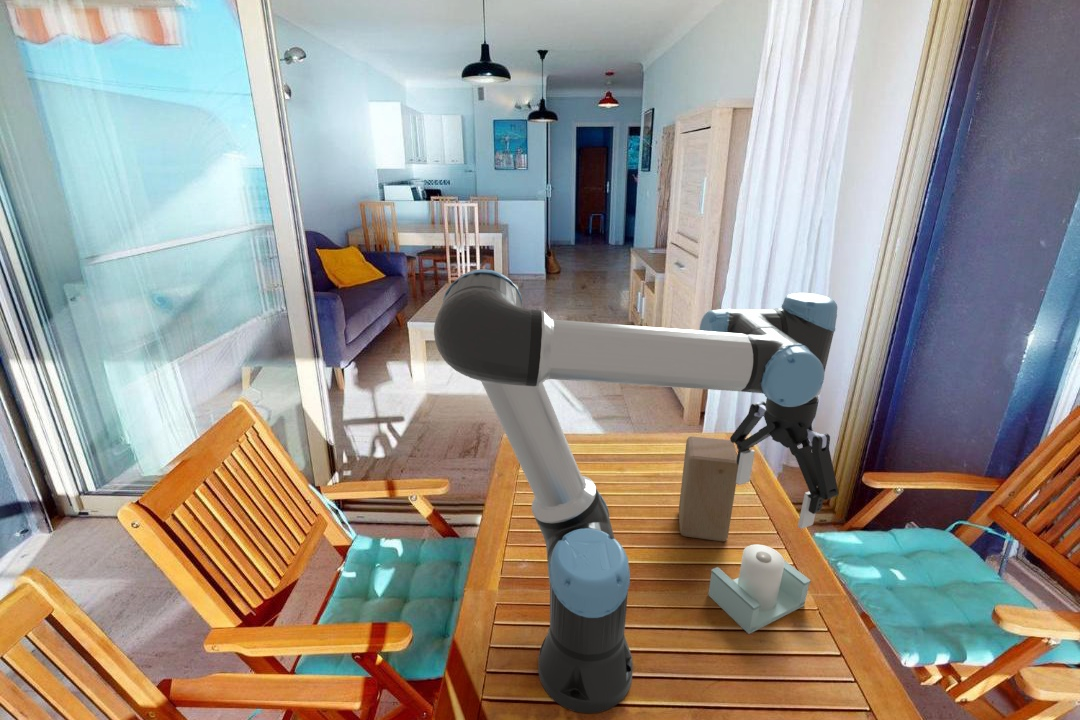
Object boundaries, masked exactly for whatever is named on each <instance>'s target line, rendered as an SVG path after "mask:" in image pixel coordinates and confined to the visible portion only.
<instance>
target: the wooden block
mask: <svg viewBox="0 0 1080 720" xmlns="http://www.w3.org/2000/svg"><path fill="white" fill-rule="evenodd" d="M737 455H738V453H737V450H736V444H735V443H732V442H731V441H730V439H721V438H715V437H714V438H712V437H705V436H702V437H701V436H694V435H692V436H688V437H687V438H686V442H685V451H684V459H683V469H682V478H681V487H680V494H679V495H680V497H679V503H678V518H679V519H678V520H679V521H678V522H679V533H680V535H681V536H683V537H686V538H687V537H688V538H693V539H702V540H709V541H717V542H726V541H727V539H728V538H729V532H730V526H731V519H732V518H731V517H732V514H733V506H734V500H735V494H736V493H735V492H736V488H737V487H736V486H737V484H736V478H737V472H738V466H739V465H738V464H737Z"/></svg>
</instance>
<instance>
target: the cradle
mask: <svg viewBox="0 0 1080 720" xmlns="http://www.w3.org/2000/svg"><path fill="white" fill-rule="evenodd" d="M784 562H785V564H784V569H783V574H782V578H781V583H780V588H779V593H778V597H777V602H776V605H775V607H774V608H773V609H771V610H768V611H759V608H760V607H761V605H760V604H759V603H758V602H757V601H756V600H755V599H754V598H752V597H751V596H750V595H749V594H748V593H747V592H746V591H744V590H743V589H742V588H741V587H740V586H739V585H738V579H739V577H737V578H734V579H732V578H731V577H730V576H729V575H727V574H726V573H725V572H724V571H723V570H722V569H721V568H720V567H718V566H717V567H714V568H712V569H711V570H710V572H711V573H710V574H711V575H710V580H709V587H708V594H707V596H708V597H710V598H711V599H712V601H714V602H715V603H716V604H717V605H718V606H719V607H720V608H721V609H722V610H723V611H724V612H725V613H726V614H727V615H728V616H729V617H730V618H731V619H732V620H734V621H735V623H736V624H737V625H739V626H740V627H741V628H742V629H743V630H744V631H745V632H746V633H747V634H748V635H750V634H752V633H754V632H756V631H758V630H760V629H762V628H764V627H765V626H768V625H769V624H772V623H773V622H775V621H777V620H779V619H782V618H783V617H785V616H786V615H789V614H791V613H792V612H795V611H797V610H799V609H801V608H803V607H804V606H805V603H806V600H807V596H808V590H809V587H810V583H811V582H812V581H811V579H809V578H808V577H807V576H805V575H804V574H803V573H802V572H800V571H799V570H797V568H795V567H794V566H792V565H791V564H790V563H788V562H787V560H785V559H784Z"/></svg>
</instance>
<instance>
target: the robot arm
mask: <svg viewBox="0 0 1080 720" xmlns="http://www.w3.org/2000/svg"><path fill="white" fill-rule="evenodd" d="M442 300H443V301H442V304H441V307H440V309H439V310H438V313H437V315H436V318H435V321H434V325H433V326H434V328H433V337H434V342H435V345H436V347H437V351H438V353H439V354H440V357H441V358H442V359H443V360H444V361H445V363H446V364H447V365H449V367H450V368H452V369H453V370H454V371H456V372H457V373H460V374H462V375H464V376H466V377H468V378H469V379H473V380H475V381H479V382H481V384H482V386H483V388H484V390H485V393H486V394H487V398H488V399H489V401H490V403H491V406H492V407H493V409H494V411H495V414H496V416H497V418H498V421H499V423H500V425H501V427H502V429H503V431H504V434H505V436H506V437H507V440H508V442H509V444H510V446H511V448H512V450H513V452H514V455H515V457H516V460H517V461H518V463H519V465H520V468H521V470H522V472H523V474H524V476H525V478H526V480H527V482H528V484H529V487H530V489H531V490H532V493H533V496H534V498H533V500H532V503H531V509H530V510H531V513H532V515H533V517H534V519H535V521H536V524H537V525H538V527H539V530H540V532H541V534H542V536H543V539H544V542H545V547H546V561H547V572H548V580H549V581H548V583H549V629H548V632H547V634H546V637H545V638H543V639H544V640H543V641H542V643H541V646H540V647H539V648H540V649H539V653H538V676H539V680H540V683H541V686H542V688H543V689H544V690H545V692H546V694H547V695H549V696H548V697H550V698H551V699H552V700H553V701H554V702H556V703H557V704H558V705H559V706H561V707H563V708H564V709H567V710H569V711H573V712H576V713H582V714H596V713H602V712H605V711H608V710H610V709H612V708H614V707H615V706H617V705H618V704H620V702H622V701H623V700H624V698H625V697H626V696H627V694H628V693H629V691H630V689H631V687H632V686H631V685H632V680H633V672H634V664H633V663H634V662H633V657H632V654H631V650H630V647H629V644H628V641H627V639H626V636H625V629H626V618H627V617H626V616H627V604H628V594H629V589H630V585H631V583H630V580H631V579H630V578H631V572H630V565H629V564H630V563H629V559H628V555H627V553H626V551H625V549H624V547H623V546H622V544H621V543H620V541H618V540H617V539H616V538H615V535H614V531H613V527H612V526H613V525H612V523H611V519H610V511H609V509H608V506H607V503H606V501H605V499H604V498H603V496H602V495H601V492H599V491H598V489H597V486H596V484H595V483H594V481H593V480H592V478H590V477H588V476H584V475H582V473H581V471H580V468H579V467H578V464H577V461H576V460H575V457H574V454H573V453H572V452H573V451H572V449H571V447H570V444H569V442H568V440H567V438H566V436H565V433H564V431H563V429H562V426H561V424H560V422H559V418H558V416H557V414H556V412H555V409H554V406H553V404H552V402H551V399H550V397H549V395H548V392H547V391H546V388H545V387H546V386H544V382H545V381H547V380H555V381H557V380H559V381H573V382H574V381H576V382H589V383H602V384H603V383H605V384H620V385H621V384H622V385H633V386H634V385H635V386H650V387H651V386H653V387H664V388H665V387H667V388H681V389H684V388H685V389H694V390H695V389H696V390H698V389H699V390H712V391H729V392H740V393H741V392H742V393H752V394H753V393H755V394H764V397H765V398H766V402H765V401H764V400H763V401H762V400H761V401H758V402H755V403H752V404H750V406H749V407H750V408H749V411H748V413H747V415H746V416H745V417H744V419H743V420H742V421H741V422H740V424H739V426H738V427H737V428H736V429H735V430H734V432H733V433H732V434H731V435H730V438H729V440H730V441H731V442H732V443H734V445H735V446H736V448H737V464H738V465H739V466H738V472H737V478H736V485H737V486H740V485H741V486H742V485H743V484H746V483H750V481H751V476H752V469H753V465H754V460H755V459H754V458H755V454H756V451H755V450H754V449H752V448H753V447H755V445H757V444H759V443H761V442H762V441H764V440H766V439H768V438H769V437H771V440H773V441H774V442H776V443H780V444H781V445H782V446H783V447H785V448H786V449H787V448H788V449H789V451H790V453H791V455H793V456H794V457H795V460H796V462H797V465H798V467H799V468H800V471H801V475H802V477H803V478H804V481H805V483H806V486H807V489H808V491H805V492H804V496H803V500H802V505H801V510H800V513H799V514H800V515H799V518H798V521H797V522H798V523H797V528H799V529H801V530H803V529H805V528H808V527H810V526H812V525H814V523H815V522H814V521H815V517H816V514H817V513H819V512H820V511H822V507H823V503H824V501H826V500H827V501H828V500H830V499H832V498H834V497H837V496H839V493H840V492H839V488H838V483H837V479H836V475H835V470H834V465H833V461H832V455H831V452H830V445H831V444H830V442H831V436H830V435H829V433H827V432H826V433H819V432H817V431H814V430H813V426H812V425H813V423H814V419H816V415H817V412H818V407H819V401H820V397H819V395H820V394H821V392H822V387H823V383H824V380H825V372H826V368H827V367H826V366H827V364H828V359H829V354H830V351H831V345H832V341H833V338H834V334H835V332H836V323H837V317H838V304H837V302H836V301H835V300H833V299H832V298H831V297H828V296H826V295H822V294H817V293H811V292H810V293H809V292H795V293H790V294H787V295H786V296H785V297H784V299H783V302H782V304H781V308H772V309H770V308H768V309H765V308H764V309H763V308H760V309H758V308H755V309H754V308H752V309H751V308H747V309H746V308H744V309H743V308H742V309H741V308H737V309H736V308H735V309H734V308H730V307H729V308H724V309H712V310H709V311H706V312H705V314H704V315H703V317H702V318H701V321H700V325H699V330H697V329H683V328H671V327H669V328H668V327H656V326H643V325H631V324H630V325H629V324H628V325H627V324H617V323H605V322H604V323H603V322H592V321H591V322H590V321H579V320H568V319H567V320H565V319H553V318H551V317H550V316H549V315H548V314H547V312H545V311H544V310H541V309H530V308H529V309H528V308H523V302H522V301H523V298H522V294H521V292H520V291H519V289H518V287H517V286H516V285H515V283H513V281H512V280H511V279H510V278H508V276H506V275H504V274H502V273H501V272H498V271H496V270H493V269H485V268H481V269H480V268H479V269H474V270H471V271H467V272H466V273H464V274H462V275H460V276H459V277H458V278H456V279H455V280H454V282H453V283H451V284H450V285H449V287H448V288H447V290H446V292H445V293H444V296H443V299H442ZM762 418H764V420H765V421H764V422H765V424H766V425H765V426H763V427H762V428H761V429H759V430H758V431H757V432H755V433H754V434H752V435H750V436H749V434H750V433H751V432H752V431H753V429H754V428H755V427H756V425H758V423H759V422H760V421H761V419H762ZM800 445H801V446H802V447H801V448H799V446H800Z"/></svg>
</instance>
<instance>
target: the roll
mask: <svg viewBox="0 0 1080 720" xmlns="http://www.w3.org/2000/svg"><path fill="white" fill-rule="evenodd" d="M784 560H785V559H784V557H783V555H782V554H781V553H780V552H779V551H777V550H776V549H774V548H772V547H770V546H767V545H765V544H758V543H757V544H755V543H754V544H751V545H748V546H746V547H744V549H743V550H742V557H741V563H740V569H739V575H738V578H739V579H738V585H739V586H740V587H741V588H742V589H743V590H744V591H746V592H747V593H748V594H749V595H750V596H751V597H752V598H754V599H755V600H756V601H757V602H758V603H759V604H760V605H761V607H760V608H759V611H768V610H771V609H773V608H774V607H775V605H776V602H777V597H778V593H779V588H780V583H781V578H782V574H783V569H784V564H785V562H784Z"/></svg>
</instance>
